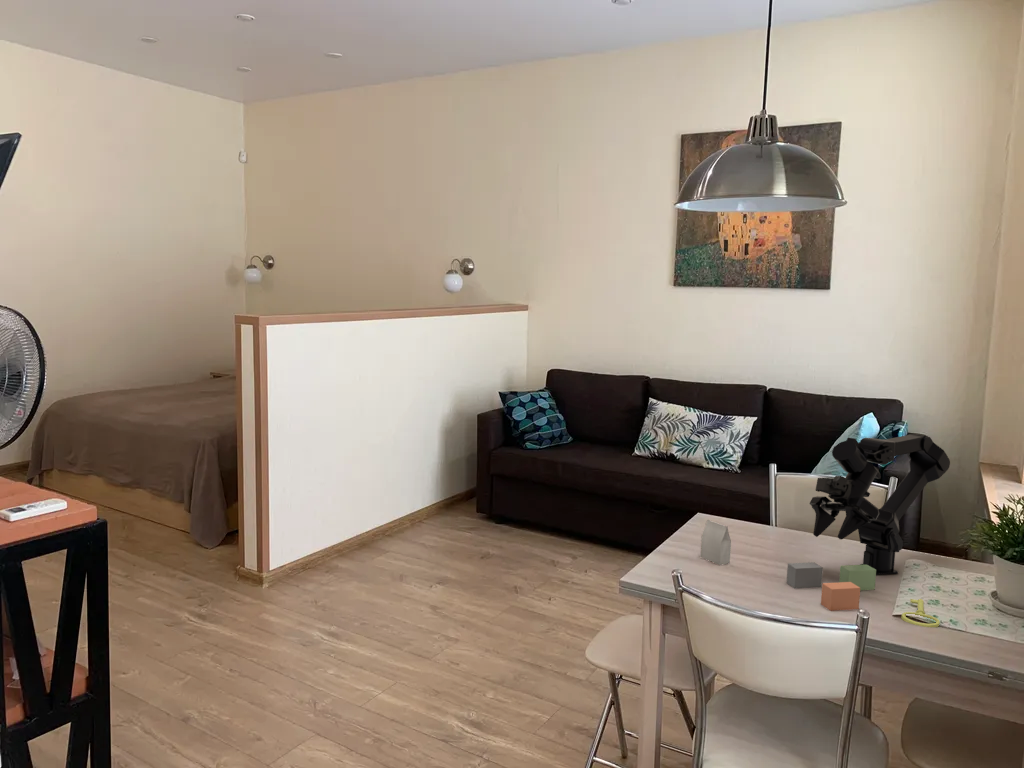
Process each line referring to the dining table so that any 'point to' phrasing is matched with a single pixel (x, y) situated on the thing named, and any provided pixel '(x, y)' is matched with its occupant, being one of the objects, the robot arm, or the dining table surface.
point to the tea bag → (716, 543)
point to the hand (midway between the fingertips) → (826, 537)
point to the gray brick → (804, 575)
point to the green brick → (859, 576)
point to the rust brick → (840, 596)
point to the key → (921, 613)
